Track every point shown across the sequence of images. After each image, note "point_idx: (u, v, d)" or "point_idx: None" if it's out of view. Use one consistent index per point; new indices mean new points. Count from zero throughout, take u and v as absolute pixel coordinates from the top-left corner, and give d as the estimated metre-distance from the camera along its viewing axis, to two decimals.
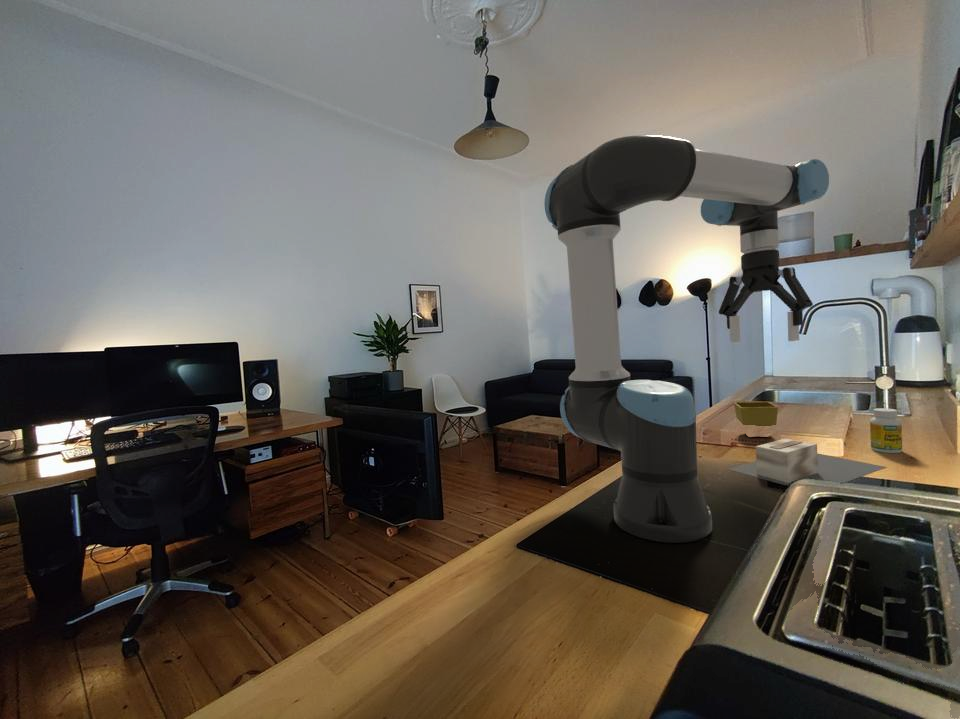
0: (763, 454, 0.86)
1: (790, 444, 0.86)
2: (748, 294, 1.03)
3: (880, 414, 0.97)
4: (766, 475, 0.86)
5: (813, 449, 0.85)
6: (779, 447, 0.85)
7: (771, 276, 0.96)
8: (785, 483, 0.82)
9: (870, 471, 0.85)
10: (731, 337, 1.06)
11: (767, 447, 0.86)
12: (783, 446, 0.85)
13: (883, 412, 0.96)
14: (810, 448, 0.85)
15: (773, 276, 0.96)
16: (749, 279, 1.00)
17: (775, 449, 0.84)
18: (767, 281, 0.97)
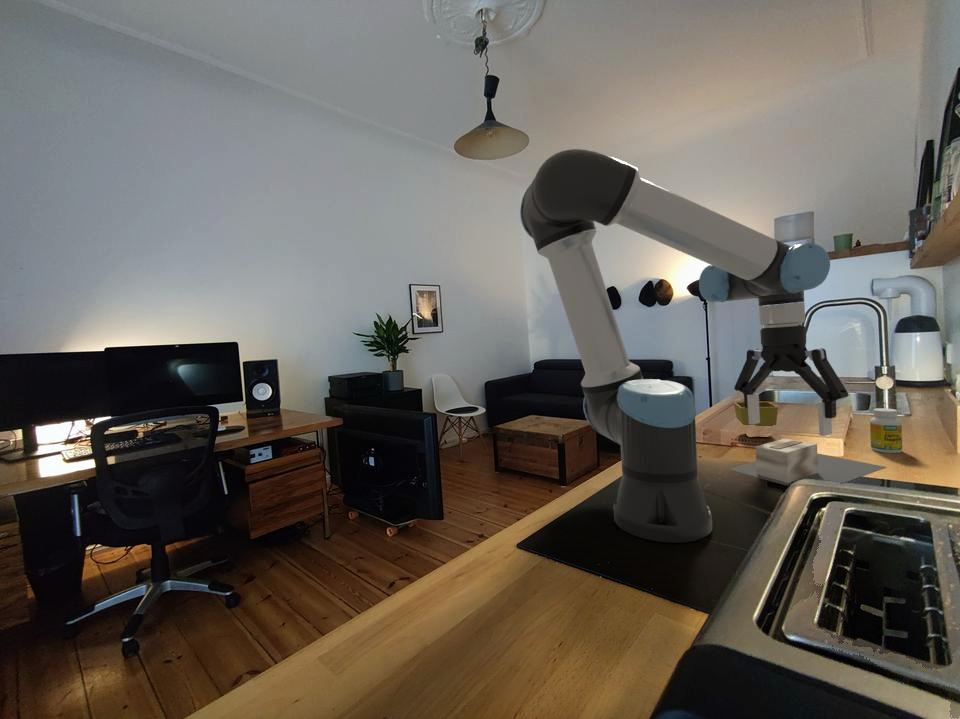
0: (763, 454, 0.86)
1: (790, 444, 0.86)
2: (769, 372, 0.89)
3: (880, 414, 0.97)
4: (766, 475, 0.86)
5: (813, 449, 0.85)
6: (779, 447, 0.85)
7: (797, 357, 0.82)
8: (785, 483, 0.82)
9: (870, 471, 0.85)
10: (750, 419, 0.92)
11: (767, 447, 0.86)
12: (783, 446, 0.85)
13: (883, 412, 0.96)
14: (810, 448, 0.85)
15: (800, 357, 0.82)
16: (770, 357, 0.86)
17: (775, 449, 0.84)
18: (792, 362, 0.83)
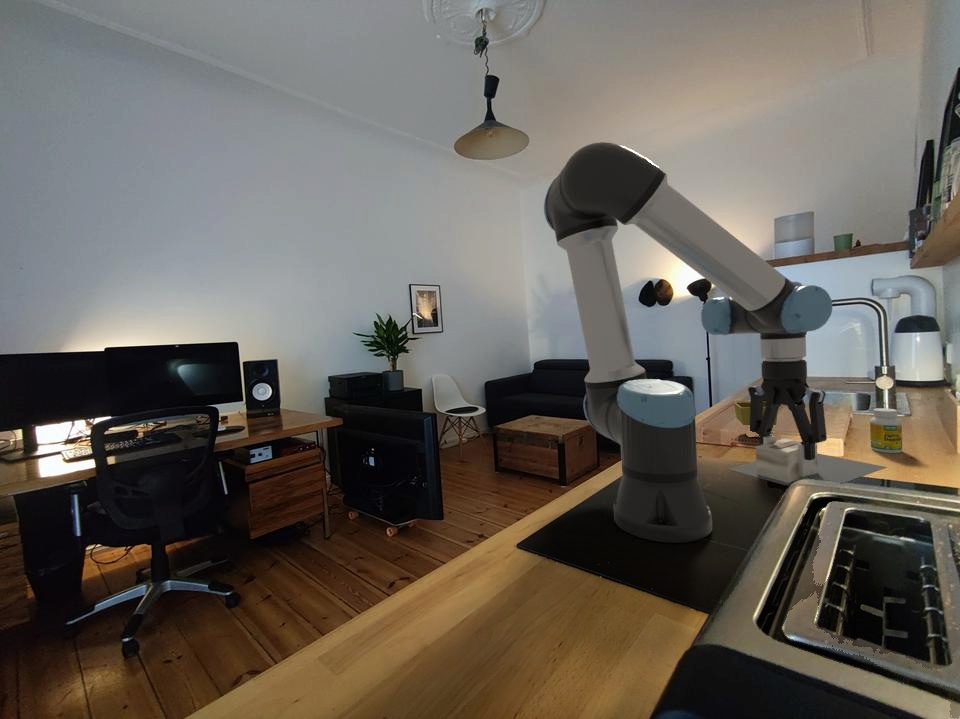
0: (763, 454, 0.86)
1: (790, 444, 0.86)
2: (776, 407, 0.88)
3: (880, 414, 0.97)
4: (766, 475, 0.86)
5: None
6: (779, 447, 0.85)
7: (796, 391, 0.83)
8: (785, 483, 0.82)
9: (870, 471, 0.85)
10: None
11: (767, 447, 0.86)
12: (783, 446, 0.85)
13: (883, 412, 0.96)
14: None
15: (798, 393, 0.83)
16: (771, 390, 0.86)
17: (775, 449, 0.84)
18: (790, 399, 0.83)
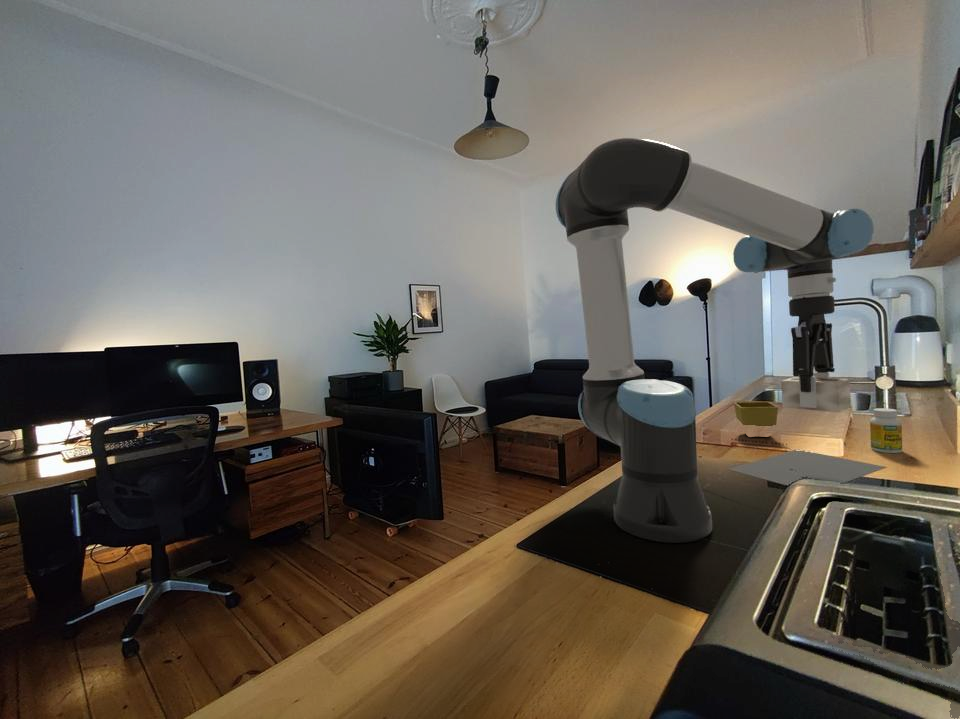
0: None
1: (816, 379, 0.89)
2: (818, 343, 0.90)
3: (880, 414, 0.97)
4: None
5: (829, 386, 0.85)
6: (796, 378, 0.92)
7: None
8: (785, 483, 0.82)
9: (870, 471, 0.85)
10: None
11: (791, 378, 0.94)
12: None
13: (883, 412, 0.96)
14: (824, 384, 0.86)
15: None
16: None
17: (789, 379, 0.93)
18: None
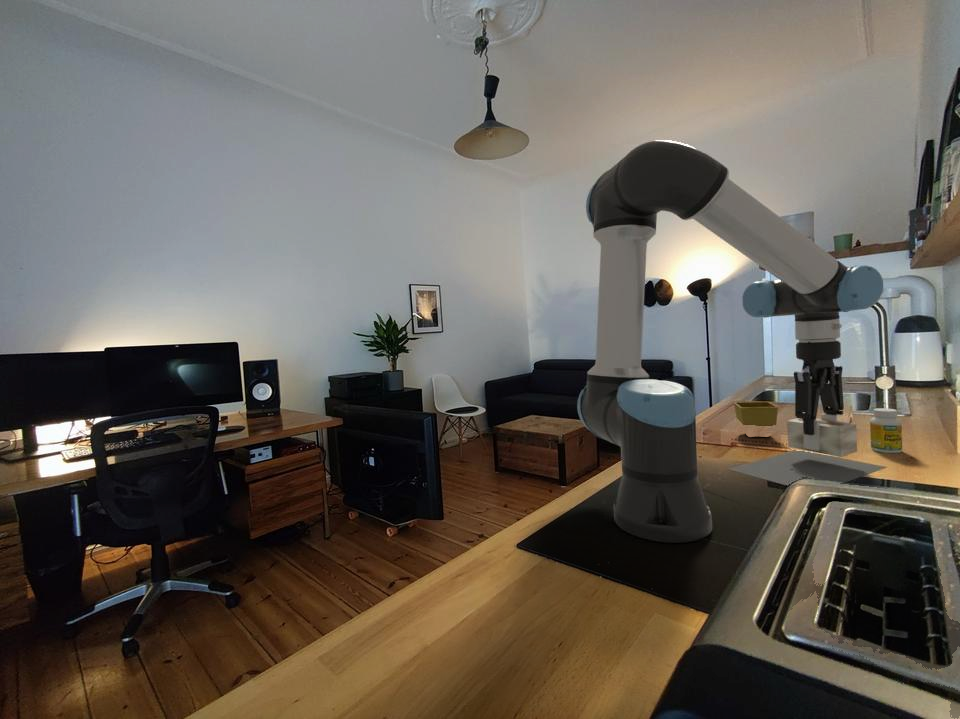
0: None
1: (821, 422, 0.91)
2: (826, 386, 0.91)
3: (880, 414, 0.97)
4: None
5: (832, 430, 0.87)
6: None
7: None
8: (785, 483, 0.82)
9: (870, 471, 0.85)
10: None
11: None
12: None
13: (883, 412, 0.96)
14: (827, 428, 0.88)
15: None
16: None
17: (796, 419, 0.95)
18: None
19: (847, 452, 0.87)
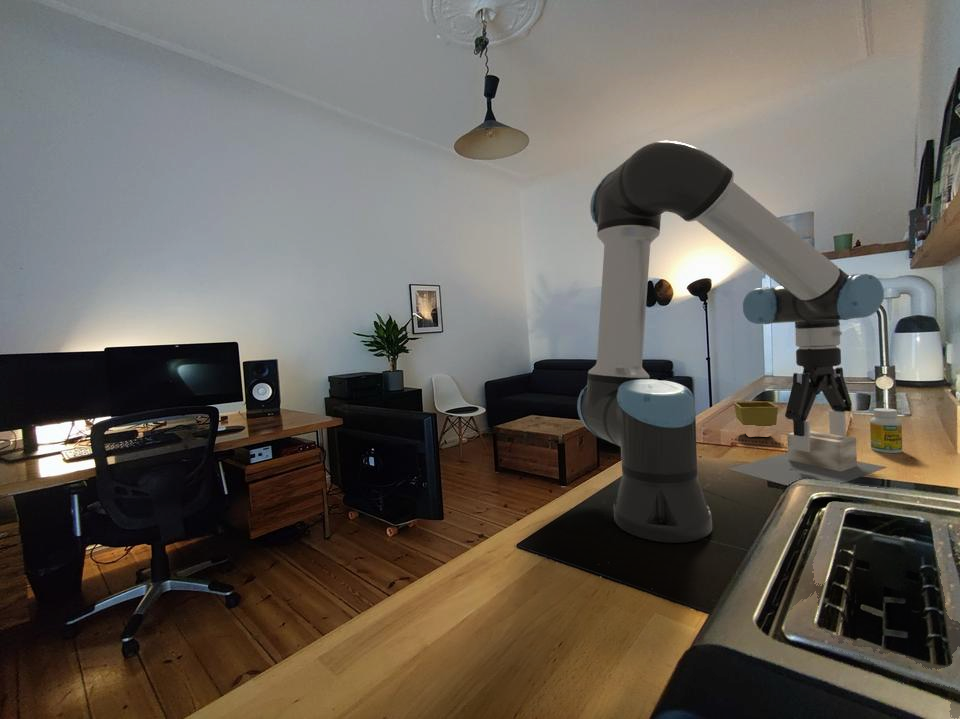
0: None
1: (821, 435, 0.91)
2: (829, 390, 0.92)
3: (880, 414, 0.97)
4: None
5: (831, 445, 0.87)
6: None
7: None
8: (785, 483, 0.82)
9: (870, 471, 0.85)
10: None
11: None
12: None
13: (883, 412, 0.96)
14: (827, 442, 0.88)
15: None
16: None
17: None
18: None
19: (847, 466, 0.87)
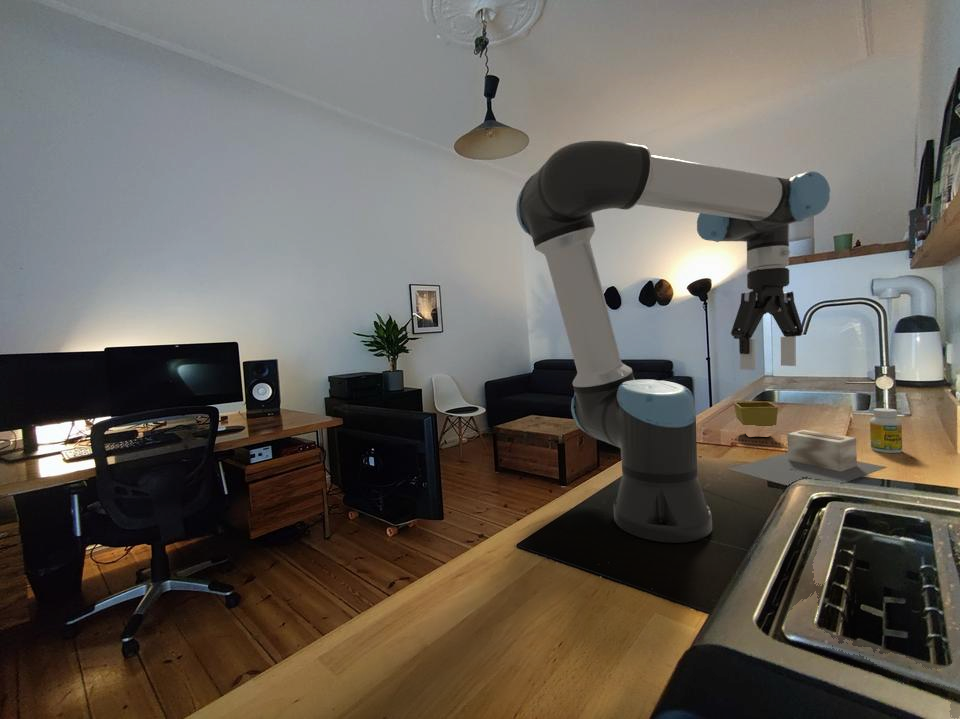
0: None
1: (821, 435, 0.91)
2: (779, 314, 0.92)
3: (879, 414, 0.97)
4: None
5: (831, 445, 0.87)
6: (803, 432, 0.94)
7: None
8: (785, 483, 0.82)
9: (870, 471, 0.85)
10: None
11: (799, 431, 0.96)
12: (809, 434, 0.93)
13: (883, 412, 0.96)
14: (827, 442, 0.88)
15: None
16: None
17: (796, 432, 0.95)
18: None
19: (847, 466, 0.87)
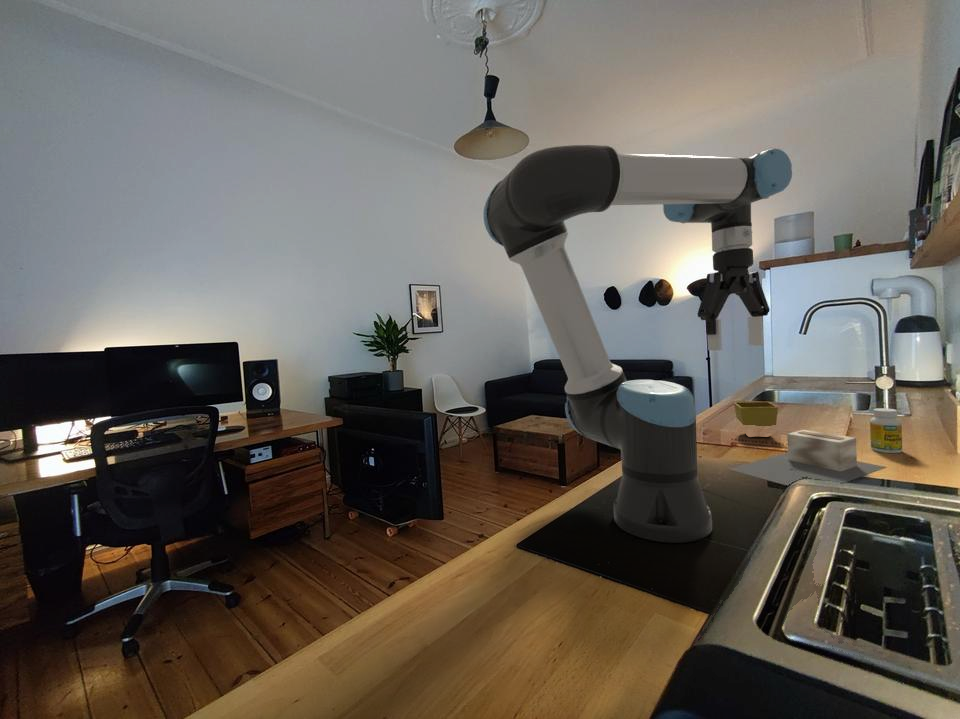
0: None
1: (821, 435, 0.91)
2: (745, 294, 0.93)
3: (880, 414, 0.97)
4: None
5: (831, 445, 0.87)
6: (803, 432, 0.94)
7: None
8: (785, 483, 0.82)
9: (870, 471, 0.85)
10: None
11: (799, 431, 0.96)
12: (809, 434, 0.93)
13: (883, 412, 0.96)
14: (827, 442, 0.88)
15: None
16: None
17: (796, 432, 0.95)
18: None
19: (847, 466, 0.87)
